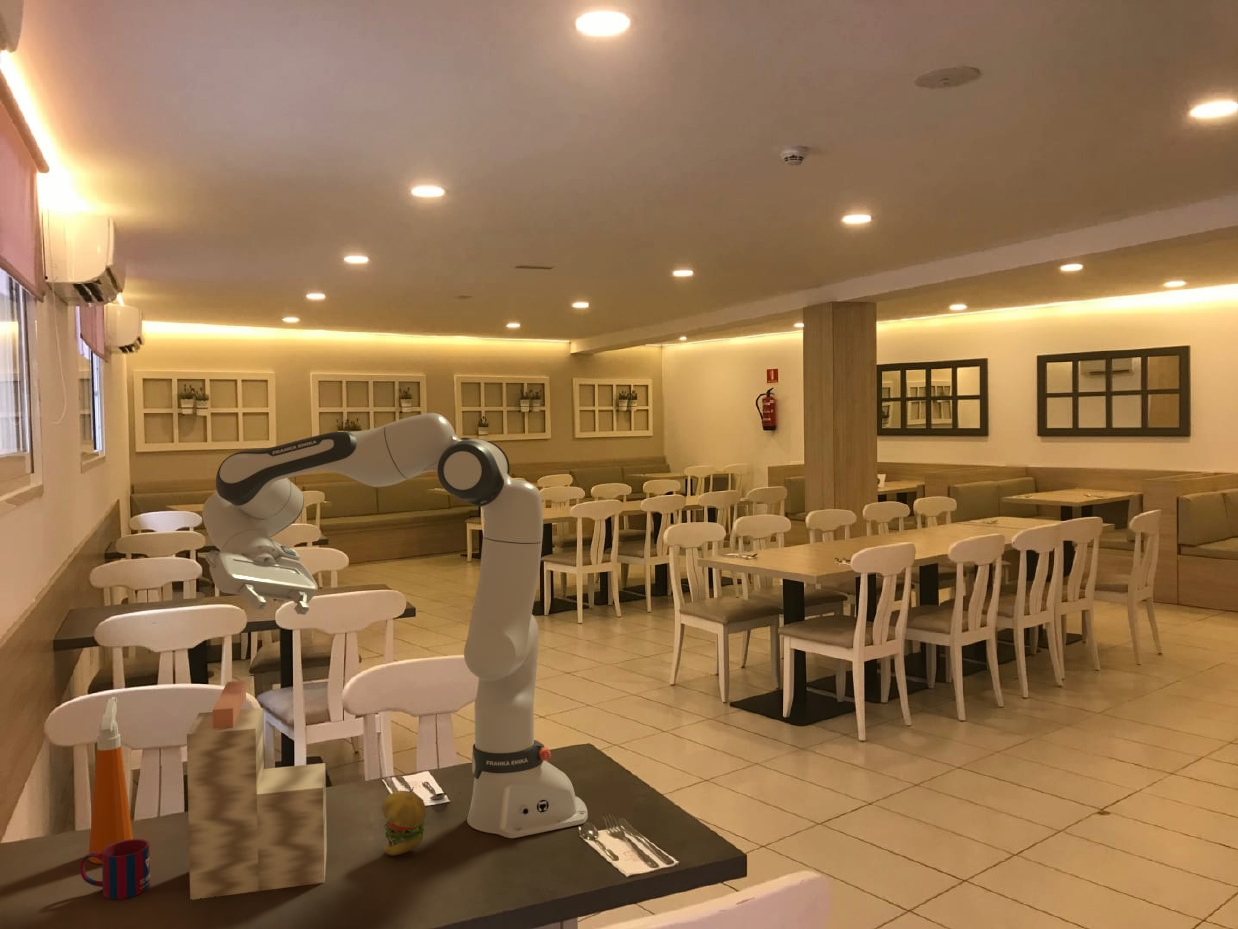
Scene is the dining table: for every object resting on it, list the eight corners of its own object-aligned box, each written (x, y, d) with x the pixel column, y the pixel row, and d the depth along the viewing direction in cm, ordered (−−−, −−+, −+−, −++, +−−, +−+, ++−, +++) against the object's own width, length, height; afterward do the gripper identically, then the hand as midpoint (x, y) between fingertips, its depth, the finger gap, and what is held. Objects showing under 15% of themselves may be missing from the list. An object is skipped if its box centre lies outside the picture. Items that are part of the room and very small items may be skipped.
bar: (246, 697, 167) (245, 680, 167) (233, 727, 150) (232, 708, 150) (227, 698, 166) (227, 681, 166) (212, 728, 149) (212, 709, 149)
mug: (139, 899, 147) (138, 856, 147) (73, 902, 147) (72, 858, 146) (157, 879, 154) (156, 837, 154) (93, 882, 153) (92, 840, 153)
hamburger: (403, 841, 167) (402, 774, 167) (435, 849, 164) (434, 781, 164) (373, 859, 161) (372, 789, 160) (406, 867, 157) (405, 796, 157)
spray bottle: (139, 836, 171) (136, 691, 170) (131, 860, 161) (128, 707, 160) (95, 842, 168) (92, 696, 168) (84, 867, 158) (80, 712, 158)
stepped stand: (326, 851, 164) (324, 703, 163) (324, 882, 152) (321, 723, 151) (202, 866, 158) (199, 713, 158) (190, 900, 147) (186, 734, 146)
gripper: (211, 536, 164) (243, 589, 156) (304, 552, 181) (336, 601, 173) (192, 563, 165) (222, 617, 157) (286, 577, 182) (317, 627, 174)
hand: (282, 609), depth 166 cm, fingers open, 8 cm apart
